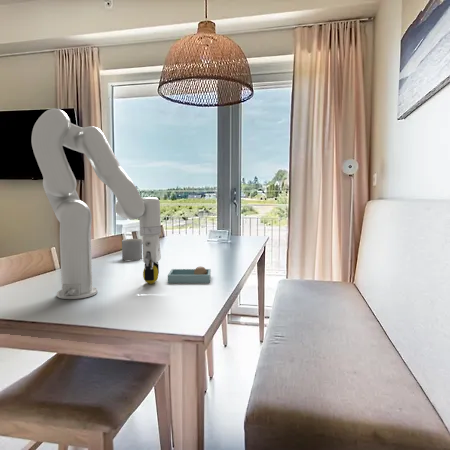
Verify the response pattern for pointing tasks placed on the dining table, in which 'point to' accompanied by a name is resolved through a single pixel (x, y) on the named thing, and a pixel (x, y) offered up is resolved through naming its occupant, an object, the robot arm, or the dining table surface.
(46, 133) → the robot arm
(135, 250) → the coffee mug
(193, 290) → the dining table surface
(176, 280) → the trough
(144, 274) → the lemon
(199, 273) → the walnut ball
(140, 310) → the dining table surface
